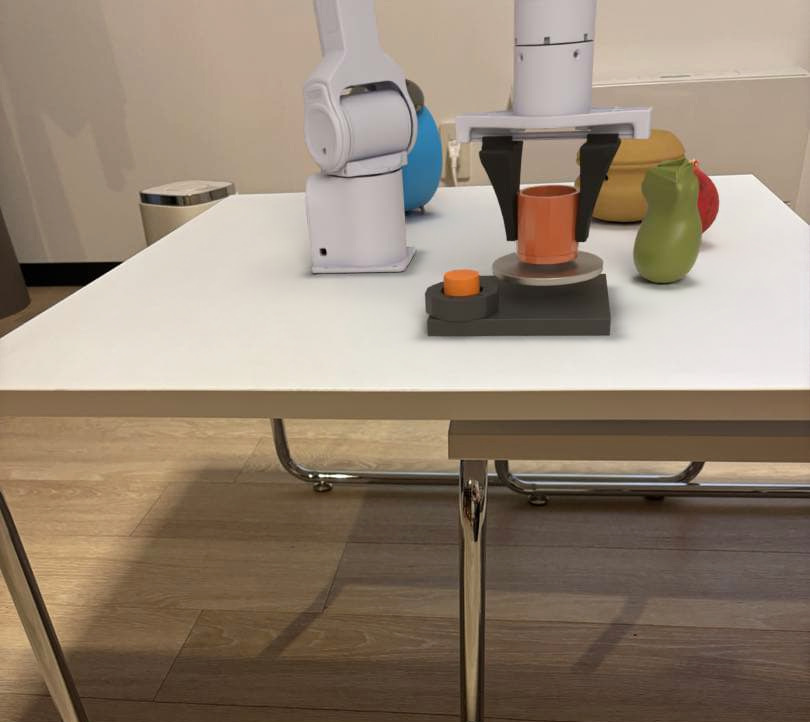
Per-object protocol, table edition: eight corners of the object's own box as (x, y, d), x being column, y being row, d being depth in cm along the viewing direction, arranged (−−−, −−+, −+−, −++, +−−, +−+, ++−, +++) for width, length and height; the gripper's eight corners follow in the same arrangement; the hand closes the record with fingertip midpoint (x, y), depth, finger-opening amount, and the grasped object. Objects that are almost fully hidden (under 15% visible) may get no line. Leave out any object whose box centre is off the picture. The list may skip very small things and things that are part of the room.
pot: (552, 224, 94) (556, 126, 88) (604, 203, 101) (610, 112, 95) (648, 235, 87) (658, 130, 82) (696, 212, 94) (708, 114, 89)
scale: (422, 338, 65) (420, 300, 63) (443, 291, 75) (441, 257, 73) (609, 338, 62) (612, 298, 61) (604, 289, 72) (607, 254, 71)
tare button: (441, 299, 64) (441, 279, 63) (446, 288, 67) (445, 269, 66) (477, 299, 64) (477, 279, 63) (481, 288, 66) (480, 268, 65)
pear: (707, 282, 72) (724, 158, 67) (664, 294, 70) (678, 167, 65) (659, 269, 76) (672, 151, 71) (617, 281, 74) (626, 160, 69)
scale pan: (487, 287, 65) (487, 279, 65) (496, 256, 72) (496, 249, 72) (604, 285, 63) (605, 277, 63) (601, 254, 71) (601, 247, 70)
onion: (716, 253, 79) (728, 163, 75) (654, 254, 81) (663, 166, 76) (710, 238, 84) (721, 153, 80) (651, 239, 85) (659, 155, 81)
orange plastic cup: (510, 263, 66) (510, 197, 63) (523, 247, 70) (524, 184, 67) (573, 265, 65) (576, 197, 62) (582, 248, 69) (585, 184, 66)
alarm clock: (446, 215, 101) (441, 75, 93) (408, 225, 98) (399, 81, 90) (381, 203, 110) (371, 74, 101) (343, 212, 107) (330, 80, 98)
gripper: (662, 33, 60) (645, 227, 67) (470, 45, 64) (473, 226, 72) (654, 39, 55) (636, 250, 62) (444, 51, 59) (451, 246, 66)
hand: (547, 238), depth 67 cm, fingers closed on orange plastic cup, 5 cm apart
